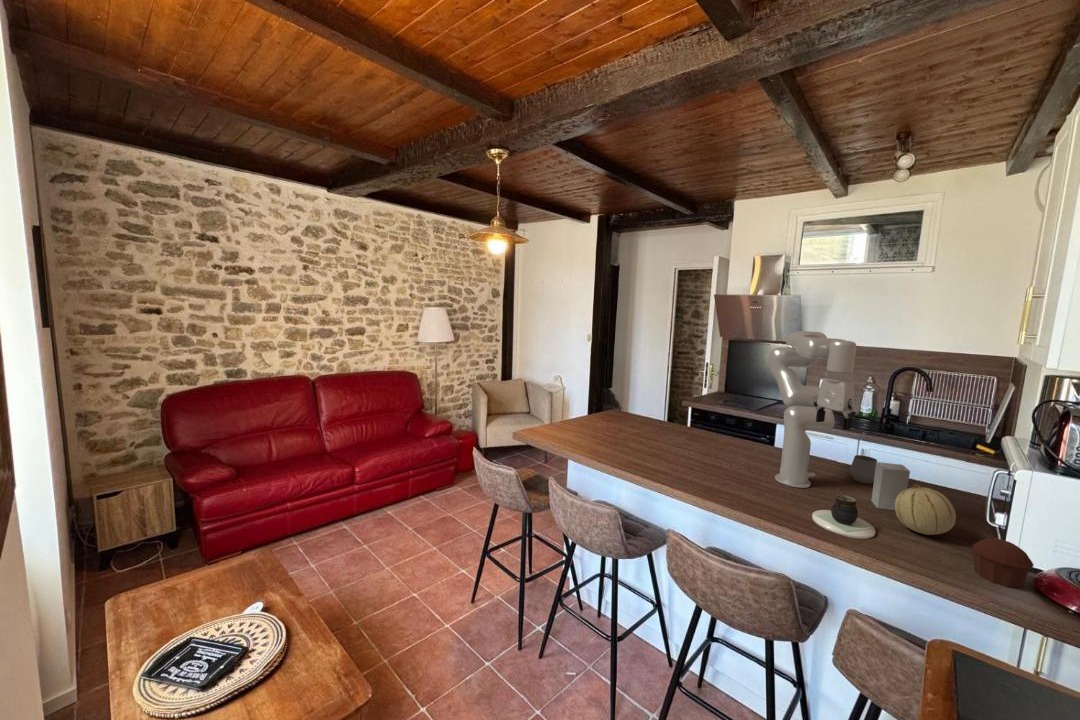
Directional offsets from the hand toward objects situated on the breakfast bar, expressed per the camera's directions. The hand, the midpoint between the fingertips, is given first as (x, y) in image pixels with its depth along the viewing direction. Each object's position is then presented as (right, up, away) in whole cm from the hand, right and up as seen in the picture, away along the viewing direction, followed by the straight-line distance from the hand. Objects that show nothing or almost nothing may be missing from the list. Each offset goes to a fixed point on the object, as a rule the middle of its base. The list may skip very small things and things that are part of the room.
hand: (832, 425), depth 151 cm
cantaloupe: (+22, -33, -10) cm, 41 cm away
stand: (-2, -31, -8) cm, 32 cm away
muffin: (+21, -36, -34) cm, 54 cm away
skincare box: (+25, -31, +7) cm, 40 cm away
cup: (+34, -28, +32) cm, 55 cm away
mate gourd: (-2, -30, -8) cm, 31 cm away
